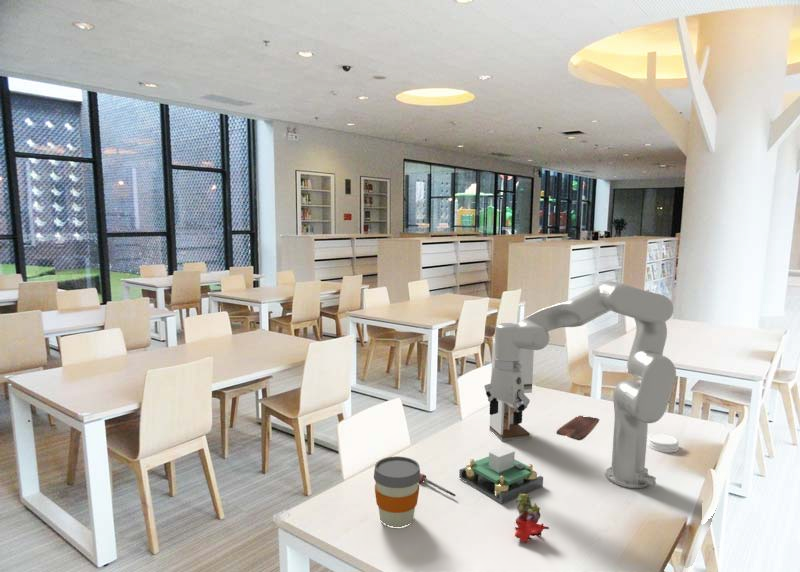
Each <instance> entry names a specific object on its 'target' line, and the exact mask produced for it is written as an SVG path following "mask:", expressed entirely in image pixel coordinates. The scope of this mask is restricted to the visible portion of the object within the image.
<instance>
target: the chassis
mask: <svg viewBox="0 0 800 572" xmlns="http://www.w3.org/2000/svg"><path fill="white" fill-rule="evenodd" d="M469 460H470V461H469V462H470V464H468V465H467V464H466V466H465V467H464V468H460V469H459V470H458V471H459V475H458V476H459V477H458V478H461V479H462V480H464V481H466V482H467V483H468V484H467V483H466V484H467V485H469V484H470V485H471V487H472V486H473V487H472V488H474V487H475V488H476V490H477V489H478V490H477V491H479V492H480V491H481V492H480V493H482V494H483V495H485V494H486V495H485V496H487V497H489V498H491V500H494V501H495V502H497V503H498V504H501V505H503V504H506V503H508V502H510V501H513V500H515V499H518V495H519V494H529V493H530V492H534V491H535V490H536V491H537V489H540V488H543V486H544V477H543V476H542V475H539V476H538V473H537V471H535V470H533V469H534V468H533V464H530V463H529V464H528V466H529V469H528V471H529V472H531V476H529V477H527V478H524V479H522V480H519V481H517V482H514V483H512V484H510V485H507V484H506V483H504V476H502V475H501V476H500V483H497V484H495V483H494V482H492V481H490V480H488V479H487V478H485V477H483V476H481V475H480V474H478V473H476V472H474V471H473V470H472V467H475V466H474V461H475V459H473V458H471V459H469ZM461 479H460V480H461ZM462 480H461V481H462ZM464 481H463V482H464ZM470 485H469V486H470ZM475 488H474V489H475Z"/></svg>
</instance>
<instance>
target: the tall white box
mask: <svg viewBox="0 0 800 572" xmlns="http://www.w3.org/2000/svg"><path fill="white" fill-rule="evenodd" d="M491 349H492V350H491V351H492V353H491V354H492V355H491V371H492V370H493V367H494V361H495V341H492V348H491ZM534 354H535V350H530V349H522V348H520V364H521V365H522V367H521V369H520V370H521V371H522V375H523V382H524V394H530V393H531V394H532V393H533V376H534V375H533V373H534V369H533V368H534V357H535V356H534ZM490 375H491V376H492V373H491V374H490ZM491 376H490V377H491ZM497 401H498V413H496V414H493V415H490V414H489V431H490V432H491V433H492V432H493V433H494V434H495V435H496V436H497V437H498V438H497V437H496V436H495V435H494V434H493V433H492V434H493V435H494V436H495V437H496V438H497V439H498V440H499V441H501V442H502V441H503V442H509V441H511V442H512V441H521V440H527V439H530V438H531V434H530V432H529V431H528V430H526V429H525V428H524V427H523V426H521V425H520V424H517V425H514V424H513V414H514V412H515V409H514V407H513V405H512V404H509V403H506V402H504V401H501V400H498V399H497ZM515 401H516V400H515ZM521 403H523V402H521ZM517 406H518V404H517ZM518 407H519V406H518Z"/></svg>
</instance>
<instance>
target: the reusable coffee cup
mask: <svg viewBox="0 0 800 572" xmlns="http://www.w3.org/2000/svg"><path fill="white" fill-rule="evenodd" d="M420 468H421V467H420V464H419V463H418V462H417V461H416V460H415V459H412V458H410V457H406V456H400V455H399V456H388V457H384V458H382V459H379V460H378V461H377V462H376V463H375V464H374V472H373V479H374V482H375V484H374V495H375V502H376V505H377V507H378V513H379V520H381V521H382V522H383V523H385V524H386V525H389V526H393V527H402V526H405V525H408V524H410V523H411V522H412V521H414V516H415V509H416V506H417V505H418V499H419V492H420V484H419V482H420V481H419V480H420V474H421V469H420ZM381 521H380V522H381ZM412 523H413V522H412ZM412 523H411V524H412ZM411 524H410V525H411Z"/></svg>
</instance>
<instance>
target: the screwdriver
mask: <svg viewBox="0 0 800 572" xmlns="http://www.w3.org/2000/svg"><path fill="white" fill-rule="evenodd" d="M423 481H424V483H427V484H429V485H432V486H434V487H436V488H437V489H439V490H441V491H442V492H445V493H446V494H449V495H451V496H452V497H456V496H457V495H456V494H455V493H453V492H451V491H450V490H448V489H446V488H444V487H443V486H440V485H439V484H437V483H434V482H433V481H431V480H430V479H428V478H427V475H425V474H424V473H420V480H419V482H420V483H421V482H423Z"/></svg>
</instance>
